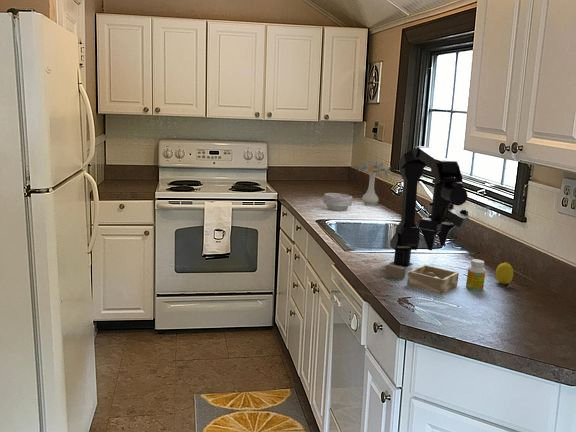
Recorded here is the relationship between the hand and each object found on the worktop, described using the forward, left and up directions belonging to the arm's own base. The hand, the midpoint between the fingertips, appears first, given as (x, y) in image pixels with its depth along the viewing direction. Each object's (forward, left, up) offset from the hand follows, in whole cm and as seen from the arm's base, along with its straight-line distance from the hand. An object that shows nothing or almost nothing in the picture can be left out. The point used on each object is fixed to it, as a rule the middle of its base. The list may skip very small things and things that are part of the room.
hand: (436, 247), depth 190 cm
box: (0, 0, -13) cm, 13 cm away
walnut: (-3, -2, -12) cm, 13 cm away
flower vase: (-118, -90, -13) cm, 149 cm away
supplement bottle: (-8, +11, -13) cm, 19 cm away
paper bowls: (-89, -94, -13) cm, 130 cm away
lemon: (-21, +16, -13) cm, 30 cm away
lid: (+1, -13, -14) cm, 19 cm away
